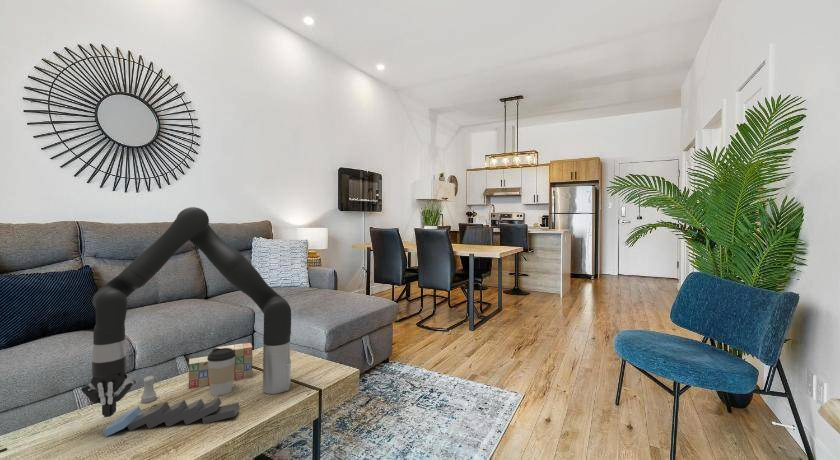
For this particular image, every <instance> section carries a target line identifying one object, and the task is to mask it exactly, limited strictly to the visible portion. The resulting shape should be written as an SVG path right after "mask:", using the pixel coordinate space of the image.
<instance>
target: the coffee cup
mask: <svg viewBox="0 0 840 460" xmlns="http://www.w3.org/2000/svg"><path fill="white" fill-rule="evenodd" d="M207 356H208V358H207V360H208V373H209V383H210V385H209V390H210V395H211V396H213V397H217V396H224V395H226V394H229V393H230V392H232V390H233V382H234V380H233V378H234V368H235V356H236V354H235V351H233V350H232V349H231V348H221V349H219V348H217V347H216V348H214V349H212V350H211V352H210V354H208V355H207Z"/></svg>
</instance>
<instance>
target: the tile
mask: <svg viewBox="0 0 840 460" xmlns="http://www.w3.org/2000/svg"><path fill="white" fill-rule="evenodd" d="M140 414H142V410H141V408H140V406H137V407H135V408H132V409H130V410H128V411H126V412H124V413H122V414H120V415H119V416H118V417H117V418H115V420H113V421H112V422H111V423H110V424H109V425H107V426H106V427H105V428H104V429H103V430H102V433H103V435H104V436H105V438H106V437H109V436H110V435H113V434H115V433H117V432H119V431H121V430H124V429H125V428H126V427H127V425H128V424H129V423H130V422H131V421H133V420H134V419H135V418H136V417H137V416H138V415H140Z"/></svg>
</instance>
